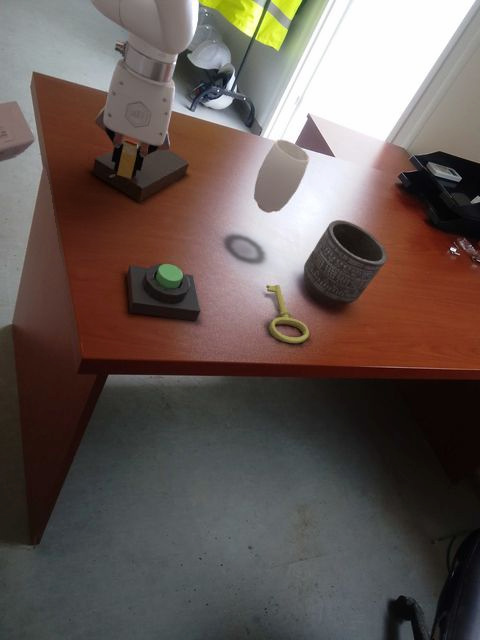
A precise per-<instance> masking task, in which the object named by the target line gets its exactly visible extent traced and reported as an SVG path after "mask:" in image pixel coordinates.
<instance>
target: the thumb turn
mask: <svg viewBox="0 0 480 640" xmlns="http://www.w3.org/2000/svg"><path fill="white" fill-rule="evenodd" d="M137 148H138V141H137V140H136V141H135V140H133V139H130V138H127V137H125V138H124V140H123V149H122V154H121V159H120V163H119V168H118V173H117V175H120V176H123V177H126V178H129V179H131V176H132V172H133V168H134V164H135V159H136V154H137Z"/></svg>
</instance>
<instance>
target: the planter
mask: <svg viewBox="0 0 480 640" xmlns="http://www.w3.org/2000/svg"><path fill="white" fill-rule="evenodd" d="M387 260H388V255H387V251H386V249H385V247H384V245H383V244H382V243H381V242H380V241H379V240H378V239H377V237H375V236H374V235H373V234H372V233H370V232H369V231H367V230H366V229H364V228H363V227H362V226H359V225H357V224H355V223H353V222H350V221H347V220H342V219H337V220H336V219H335V220H333V221H331V222H330V223H329V224H328V226H327V227H326V229H325V231H324V232H323V234H322V235H321V237H320V238H319V239H318V242H317V243H316V245H315V247H314V249H313V250H312V251H311V253H310V254H309V256H308V258H307V259H306V261H305V263H304V266H303V282H304V289H305V291H306V293H307V294H308V296H309V297H310V298H311V299H312V300H313V301H315V302H316V303H317V304H319V305H321V306H323V307H326V308H328V309H329V308H330V309H335V308H340V307H343V306H346V305H349V304H351V303H354V302H355V301H357V300H358V299H359V298H360V297H361V295H362V294H363V293H364V292H365V290H366V289H367V287H368V286H369V285H370V283H371V282H372V281H373V280H374V278H375V277H376V275H377V274H378V273H379V271H381V269H382V268H383V266H384V265H385V264H386V262H387Z"/></svg>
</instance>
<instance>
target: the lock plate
mask: <svg viewBox="0 0 480 640" xmlns="http://www.w3.org/2000/svg"><path fill="white" fill-rule="evenodd" d="M137 142H138V148H139V147H140V146H141V142H142V141H139V140H137ZM138 148H137V149H138ZM112 155H113V151H110V152H108V153H105V154H103V155H101V156H98V157H95V158H94V164H93V169H92V175H95V176H96V177H97V178H99V179H101V180H103V181H104V182H106V183H107V184H110V185H111V186H113V187H114V188H115V189H117V190H119V191H120V192H122V193H123V194H125V195H126V196H127V197H130V198H131V199H133V200H134V201H136V202H137V203H140V202H141V201H143V200H145V199H147V198H149V197H150V196H152V195H154V194H155V193H157V192H158V191H161V190H162V189H164V188H166V187H168V186H169V185H171V184H172V183H174V182H176V181H179V179H181V178H183V177H185V176H186V174H187V171H188V168H189V165H190V161H188V160H186V159H185V158H183V157H181V156H180V155H178V154H176V153H175V152H174V151H172V150H171V149H170V148H169V149H168V150H156V151H155V152H152V153H150V154H148V155H147V156H146V157H144V160H143V164H142V168H141V171H139V170H137V172H136V176H133V175H132V176H131V179H129V178H126V177H123V176H120V175H117V173H118V170H114V167H115V162H112V161H111V160H112Z"/></svg>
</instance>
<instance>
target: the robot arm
mask: <svg viewBox="0 0 480 640" xmlns="http://www.w3.org/2000/svg"><path fill="white" fill-rule="evenodd" d="M90 2H91V4H92V5H93V6H94V7H95V9H96V10H97V11H98V12H99V13H100V14H102V15H103V16H104V17H106V19H108V20H110V21H111V22H113V23H115V24H116V25H118V26H120V27H121V28H123V29H124V30H125V31H127V32H128V34H127V40H124V41H120V40H116V42H115V47H114V51H116V52H118V53H119V54H120V55H121V57H122V58H120V59H119V60H118V61H117V62H116V65H115V68H114V71H113V73H112V76H111V80H110V84H109V88H108V92H107V97H106V101H105V105H104V107H103V108H102V109H100V112H99V113H97V115H96V116H95V119H94V124H95V125H96V126H97V127H99V128H100V129H101V130H103V131H104V132H105V134H106V135H107V136H108V138H109V140H110V142H111V143H112V147H113V151H112V152H113V155H112V160H111V161H112V162H115V167H114V170H118V168H119V163H120V159H121V154H122V149H123V144H124V140H123V137H124V136H125V137H128V138H131V139H134V140H136V141H142V142H141V146H140V147H139V148H138V149H137V154H136V159H135V164H134V168H133V172H132V175H133V176H136V172H137V170H139V171H141V168H142V164H143V160H144V157H146V156H147V155H148V154H150V153H152V152H155V151H156V150H168V149H169V150H170V147H171V143H170V137H169V131H168V130H169V125H170V120H171V116H172V112H173V107H174V100H175V92H176V85H175V81H174V80H173V75H174V72H175V68H176V65H177V60H178V56H179V54H181V53H183V52H184V51H185V50H187V48H189V46H190V45H191V43H192V41H193V39H194V37H195V33H196V31H197V27H198V19H199V0H90Z"/></svg>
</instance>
